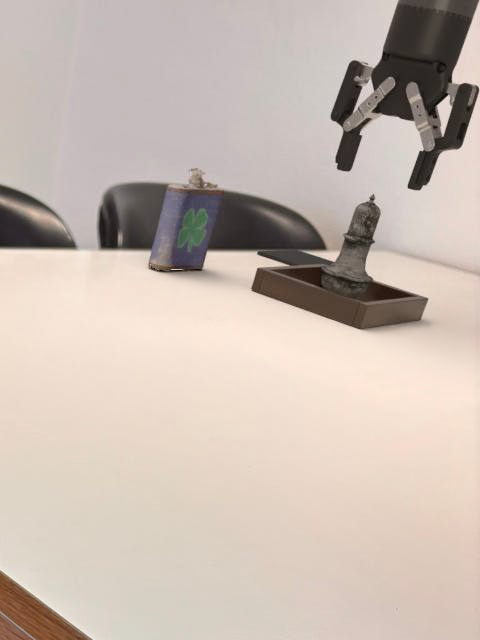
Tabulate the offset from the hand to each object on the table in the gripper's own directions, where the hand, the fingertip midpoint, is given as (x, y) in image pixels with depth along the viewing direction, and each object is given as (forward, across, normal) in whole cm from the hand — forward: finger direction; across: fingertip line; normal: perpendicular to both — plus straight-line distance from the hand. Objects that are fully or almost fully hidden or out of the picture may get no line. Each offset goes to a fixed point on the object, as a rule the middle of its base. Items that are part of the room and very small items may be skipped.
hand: (377, 179), depth 115 cm
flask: (+14, +16, +10) cm, 23 cm away
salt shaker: (+14, 0, 0) cm, 14 cm away
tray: (+13, 0, 0) cm, 13 cm away
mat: (+13, +15, -19) cm, 28 cm away
